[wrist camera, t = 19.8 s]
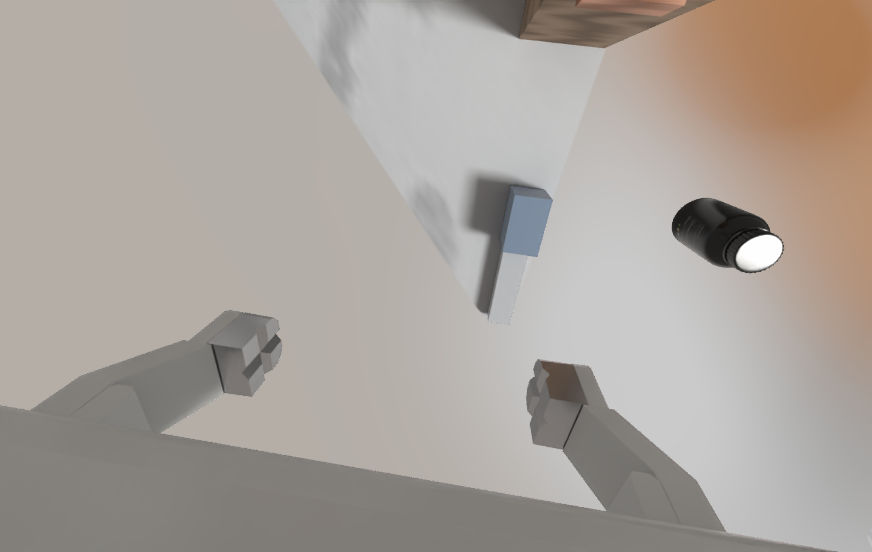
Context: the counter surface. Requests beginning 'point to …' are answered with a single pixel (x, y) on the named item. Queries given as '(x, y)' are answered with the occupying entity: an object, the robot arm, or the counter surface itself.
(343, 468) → the robot arm
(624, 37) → the socket tower
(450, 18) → the counter surface
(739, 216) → the supplement bottle
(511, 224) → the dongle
